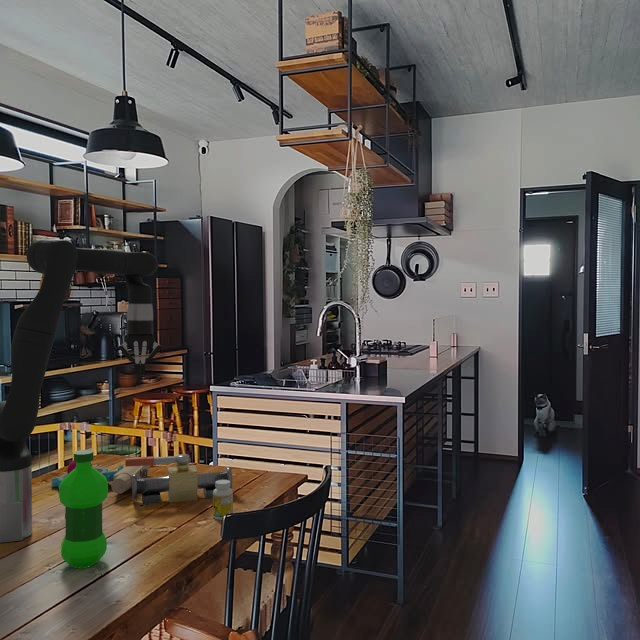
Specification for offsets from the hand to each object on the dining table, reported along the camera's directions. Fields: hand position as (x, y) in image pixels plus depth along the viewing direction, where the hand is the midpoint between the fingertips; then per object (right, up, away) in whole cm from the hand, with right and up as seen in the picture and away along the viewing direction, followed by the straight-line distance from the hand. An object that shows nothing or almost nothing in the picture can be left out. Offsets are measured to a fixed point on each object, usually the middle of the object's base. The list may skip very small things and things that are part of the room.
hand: (140, 375), depth 186 cm
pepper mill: (-6, -37, -31) cm, 49 cm away
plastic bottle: (+2, -38, -50) cm, 62 cm away
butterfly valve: (-14, -36, +6) cm, 39 cm away
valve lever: (+7, -25, -7) cm, 27 cm away
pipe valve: (+14, -36, -5) cm, 39 cm away
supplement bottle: (+28, -37, -20) cm, 51 cm away
